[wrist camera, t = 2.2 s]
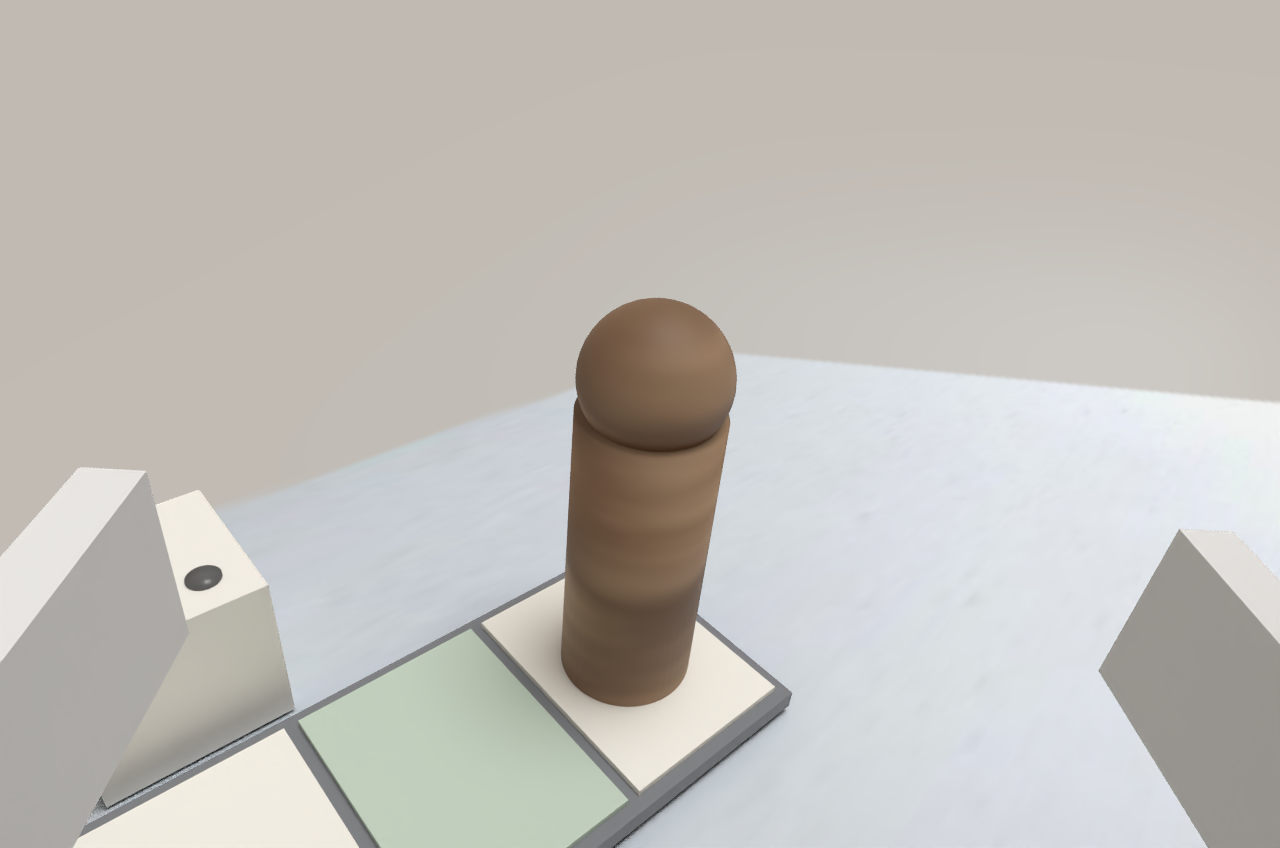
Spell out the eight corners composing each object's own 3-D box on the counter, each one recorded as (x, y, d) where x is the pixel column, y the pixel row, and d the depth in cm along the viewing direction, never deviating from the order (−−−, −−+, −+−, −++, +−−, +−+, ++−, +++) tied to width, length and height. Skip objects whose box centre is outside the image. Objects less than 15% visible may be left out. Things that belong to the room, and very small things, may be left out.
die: (297, 707, 25) (270, 581, 22) (106, 807, 22) (48, 677, 19) (231, 608, 28) (201, 486, 25) (55, 685, 25) (-2, 557, 22)
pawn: (714, 662, 27) (783, 318, 20) (618, 730, 24) (660, 364, 18) (630, 589, 29) (667, 260, 23) (535, 645, 27) (545, 294, 20)
